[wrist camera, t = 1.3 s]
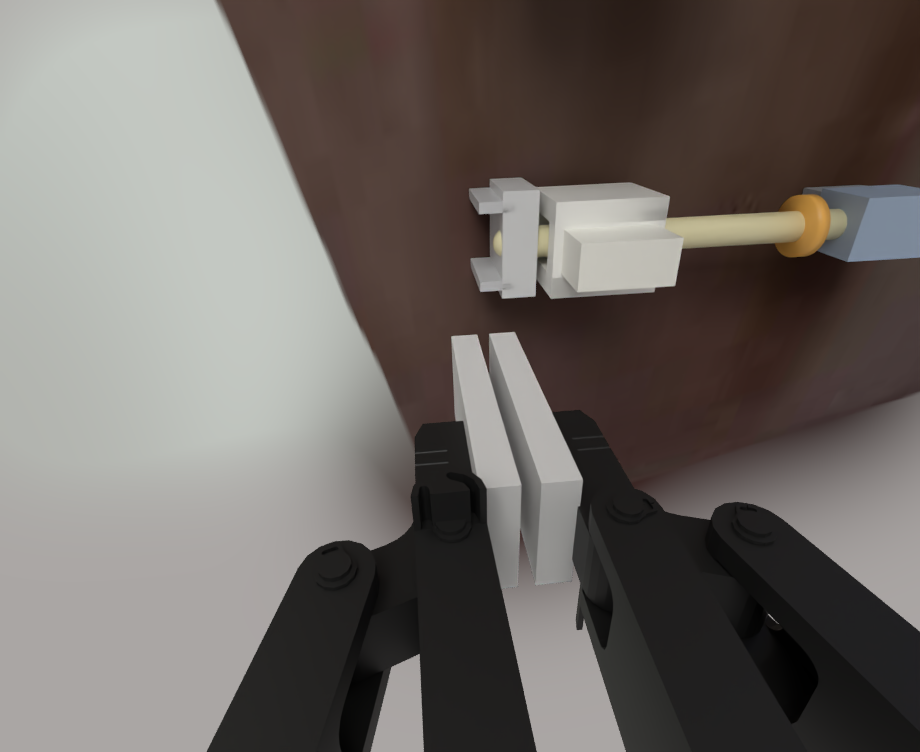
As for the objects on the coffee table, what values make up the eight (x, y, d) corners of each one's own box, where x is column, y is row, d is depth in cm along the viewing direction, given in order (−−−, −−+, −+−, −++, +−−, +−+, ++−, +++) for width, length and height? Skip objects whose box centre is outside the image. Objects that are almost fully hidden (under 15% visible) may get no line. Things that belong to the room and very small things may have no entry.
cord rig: (468, 179, 31) (480, 195, 26) (876, 160, 32) (963, 170, 27) (471, 274, 34) (482, 304, 28) (844, 251, 35) (917, 276, 30)
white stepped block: (533, 187, 30) (573, 214, 23) (630, 182, 30) (699, 207, 23) (530, 271, 32) (565, 319, 25) (620, 265, 33) (679, 311, 26)
